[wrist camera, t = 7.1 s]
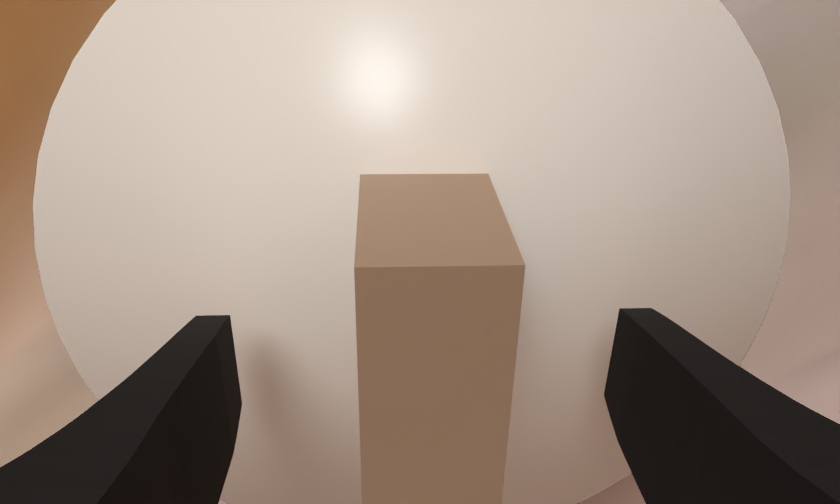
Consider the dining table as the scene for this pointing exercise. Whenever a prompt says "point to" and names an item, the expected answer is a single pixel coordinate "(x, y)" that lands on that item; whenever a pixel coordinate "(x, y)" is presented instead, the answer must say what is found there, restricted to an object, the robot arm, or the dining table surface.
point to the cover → (411, 224)
